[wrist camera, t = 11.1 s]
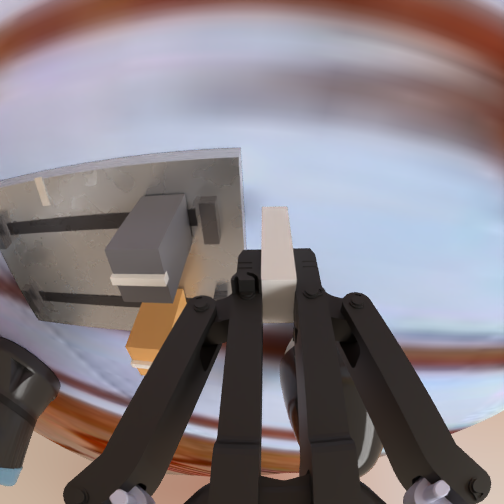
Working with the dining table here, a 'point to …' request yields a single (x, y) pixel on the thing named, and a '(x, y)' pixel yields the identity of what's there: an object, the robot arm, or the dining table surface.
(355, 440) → the pump dispenser
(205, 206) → the console
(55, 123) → the dining table surface
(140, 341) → the fader orange
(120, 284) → the fader graphite
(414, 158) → the dining table surface
